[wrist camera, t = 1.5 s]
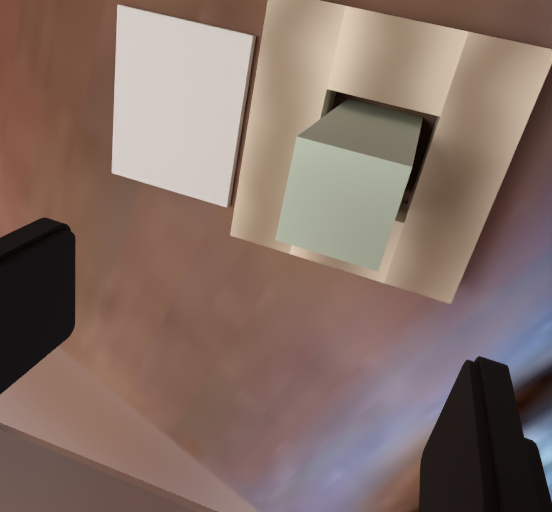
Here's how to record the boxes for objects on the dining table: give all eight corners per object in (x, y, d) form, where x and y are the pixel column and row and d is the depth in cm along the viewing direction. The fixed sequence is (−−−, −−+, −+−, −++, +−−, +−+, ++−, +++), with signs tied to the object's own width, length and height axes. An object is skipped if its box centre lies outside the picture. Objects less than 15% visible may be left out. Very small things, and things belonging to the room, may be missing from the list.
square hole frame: (543, 48, 26) (557, 50, 23) (450, 278, 32) (450, 304, 29) (288, -6, 28) (269, -11, 25) (248, 217, 35) (230, 235, 32)
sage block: (423, 117, 29) (412, 167, 18) (399, 189, 31) (378, 271, 20) (347, 98, 29) (296, 136, 19) (330, 170, 32) (275, 240, 21)
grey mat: (256, 35, 30) (252, 35, 29) (230, 204, 35) (226, 207, 34) (122, 5, 31) (117, 4, 31) (116, 170, 36) (111, 172, 36)
